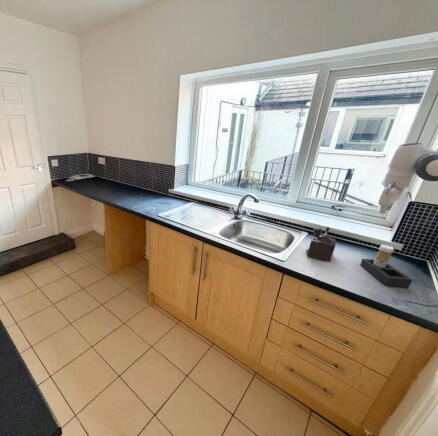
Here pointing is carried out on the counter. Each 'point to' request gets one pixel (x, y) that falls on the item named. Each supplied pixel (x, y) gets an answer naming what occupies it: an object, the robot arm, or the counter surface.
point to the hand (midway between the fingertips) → (384, 211)
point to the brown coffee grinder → (321, 245)
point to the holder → (386, 274)
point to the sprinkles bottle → (383, 256)
